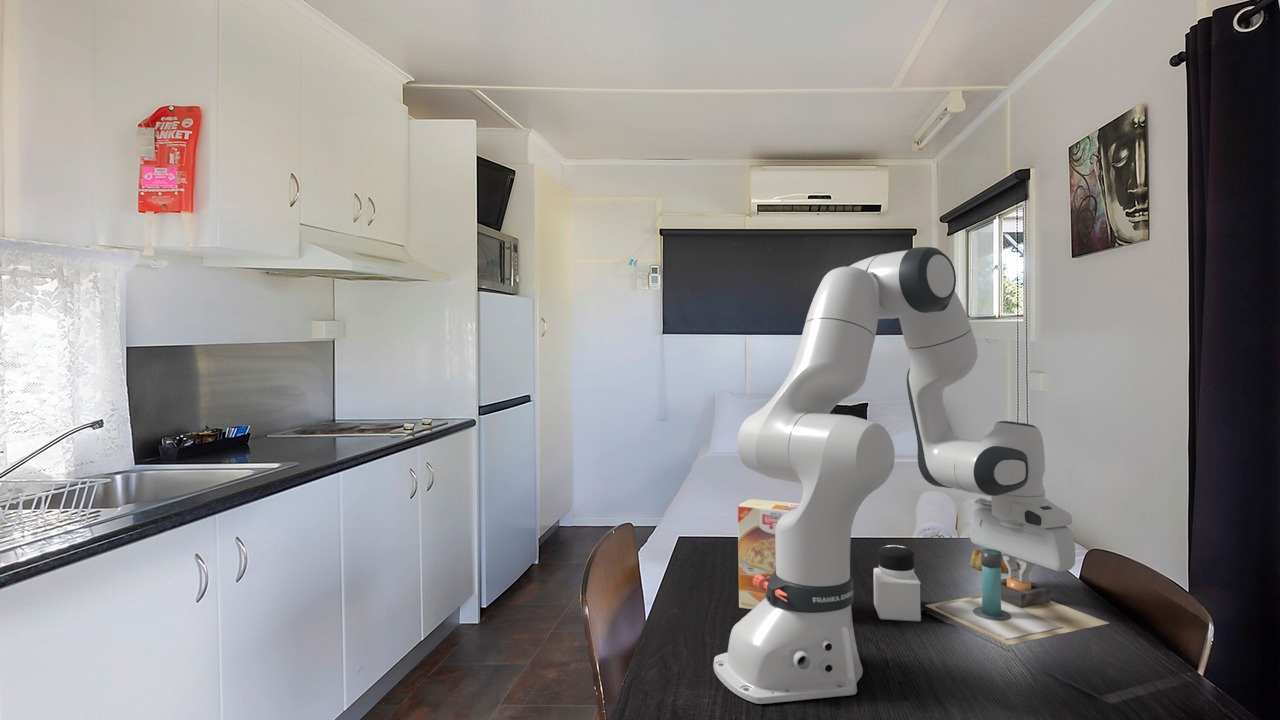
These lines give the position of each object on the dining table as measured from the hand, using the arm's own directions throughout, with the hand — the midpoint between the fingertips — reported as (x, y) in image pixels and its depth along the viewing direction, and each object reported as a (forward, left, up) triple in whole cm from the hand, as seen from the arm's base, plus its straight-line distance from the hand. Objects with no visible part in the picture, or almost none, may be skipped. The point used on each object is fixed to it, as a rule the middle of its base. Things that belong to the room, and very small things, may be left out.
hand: (1018, 580), depth 126 cm
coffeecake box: (-42, +15, -5) cm, 45 cm away
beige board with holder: (-7, -5, -4) cm, 10 cm away
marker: (-11, -4, -3) cm, 12 cm away
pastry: (+12, +18, -5) cm, 22 cm away
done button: (0, 0, -3) cm, 3 cm away
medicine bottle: (-24, +5, -5) cm, 25 cm away
